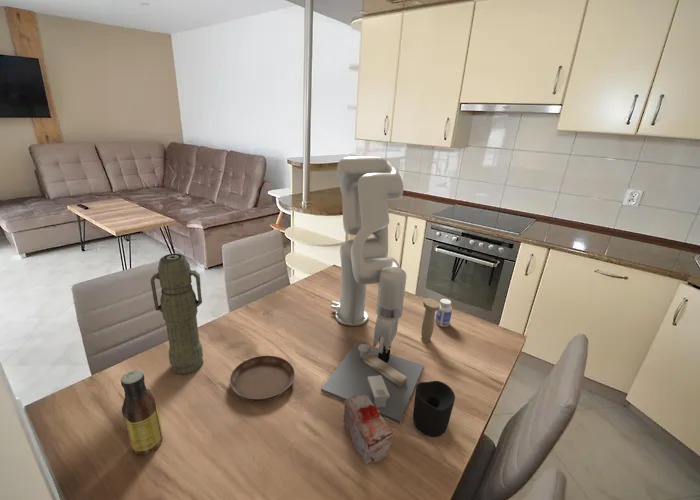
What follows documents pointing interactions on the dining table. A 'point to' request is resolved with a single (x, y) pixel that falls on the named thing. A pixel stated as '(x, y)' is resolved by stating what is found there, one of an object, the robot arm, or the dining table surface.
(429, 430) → the pen holder
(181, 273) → the thermos
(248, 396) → the plant saucer
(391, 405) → the board
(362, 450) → the food item
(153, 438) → the sauce bottle
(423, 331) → the handle
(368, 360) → the link
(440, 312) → the pill bottle
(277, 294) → the dining table surface
